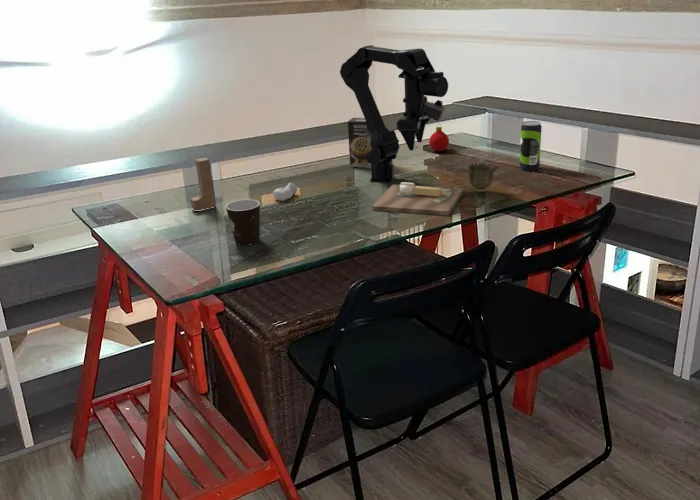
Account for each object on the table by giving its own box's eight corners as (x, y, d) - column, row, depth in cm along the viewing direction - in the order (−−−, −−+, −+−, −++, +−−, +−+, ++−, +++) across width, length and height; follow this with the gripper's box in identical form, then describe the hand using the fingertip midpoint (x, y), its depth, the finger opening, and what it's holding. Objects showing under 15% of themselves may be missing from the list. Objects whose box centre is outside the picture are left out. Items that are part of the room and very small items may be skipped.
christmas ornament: (428, 153, 241) (428, 126, 238) (429, 148, 248) (429, 121, 244) (448, 153, 240) (448, 125, 236) (449, 148, 247) (449, 121, 243)
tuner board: (372, 210, 191) (371, 205, 190) (392, 188, 208) (392, 183, 207) (448, 215, 183) (448, 210, 183) (463, 192, 200) (463, 187, 200)
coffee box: (349, 167, 231) (346, 121, 225) (354, 162, 237) (352, 117, 230) (375, 168, 228) (372, 121, 222) (379, 163, 234) (377, 117, 228)
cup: (493, 196, 195) (494, 170, 192) (467, 196, 197) (467, 169, 194) (493, 188, 202) (494, 162, 199) (468, 188, 204) (468, 162, 200)
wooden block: (212, 205, 203) (205, 157, 197) (216, 208, 201) (209, 159, 195) (191, 209, 200) (184, 161, 194) (195, 212, 198) (187, 163, 192)
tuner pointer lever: (397, 195, 197) (397, 184, 196) (403, 190, 201) (402, 180, 200) (443, 199, 192) (443, 188, 190) (448, 194, 195) (448, 183, 194)
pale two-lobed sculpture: (280, 206, 202) (270, 198, 205) (300, 199, 207) (290, 191, 210) (282, 194, 200) (271, 186, 202) (302, 187, 205) (291, 179, 207)
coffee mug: (232, 236, 179) (227, 200, 175) (264, 233, 179) (260, 198, 175) (228, 253, 168) (223, 216, 164) (263, 250, 169) (258, 213, 165)
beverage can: (541, 167, 219) (544, 121, 213) (535, 172, 214) (538, 125, 208) (523, 165, 222) (525, 120, 216) (516, 170, 217) (518, 124, 211)
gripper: (433, 100, 185) (434, 155, 191) (448, 88, 201) (448, 139, 207) (395, 100, 189) (396, 154, 195) (412, 88, 205) (414, 138, 211)
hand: (415, 146), depth 202 cm, fingers open, 9 cm apart
